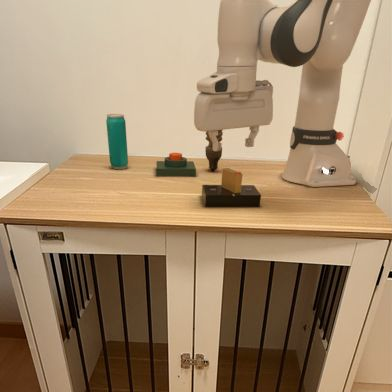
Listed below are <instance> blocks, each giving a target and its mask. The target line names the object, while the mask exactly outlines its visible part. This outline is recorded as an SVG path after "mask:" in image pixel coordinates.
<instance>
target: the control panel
mask: <svg viewBox="0 0 392 392" xmlns="http://www.w3.org/2000/svg"><path fill="white" fill-rule="evenodd" d="M256 187H257V186H255V184H241V193H233V192H231V191H229V190H227V189H225V188H223V187H221V184H202V185H201V198H202V201H203V205H204V207H205V208H261V199H262V194H261V193H260V192H259V190H258V189H257V188H256Z"/></svg>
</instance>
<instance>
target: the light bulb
mask: <svg viewBox="0 0 392 392" xmlns="http://www.w3.org/2000/svg"><path fill="white" fill-rule="evenodd" d="M223 133H224V132H223V130H218V135H217V136H216V138H217V140H218V142H220V143H221V142H222V141H223V135H224V134H223ZM205 135H206V136H205V140H206V141H208V145H206V146H205V151H204V152H205V158H206V159H207V161H208V169H209V170H210V172H215V171H216V170H218V168H219V167H218V166H219V165H218V164H219V161H220V159H221V158H222V156H223V147H222V146H221V151H213V142H212V141H211V139H210V137H209V135H208V131H206V132H205Z"/></svg>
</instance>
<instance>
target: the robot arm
mask: <svg viewBox="0 0 392 392" xmlns="http://www.w3.org/2000/svg"><path fill="white" fill-rule="evenodd" d="M371 2H372V0H294V2H292V3H291V4H289V5H287V6H282V7H281V6H279V5H278V4H277V5H276V4H275V3H273V2H271V1H270V0H220V3H219V9H218V20H217V36H216V37H217V39H216V40H217V41H216V42H217V46H218V57H217V62H216V71H214V72H213V73H212V74H209V75H207V76H205V77H203V78H201V79H199V80H198V81H197V82H196V90H197V92H199V93H198V94H197V95H196V97H195V101H194V111H193V124H194V127H195V129H196V130H197V131H200V132H203V133H204V132H205V133H206V132H207V131H208V135H209V137H210V139H211V141H212V142H213V151H221V147H222V144H223V143H222V142H221V141H220V142H218V140H217V138H216V136H217V135H218V130H222V131H225V130H233V129H243V128H244V129H245V128H248V129H249V131H250V132H249V135H248V136H247V138H245V139H244V141H245V142H244V146H245V147H246V148H254V146H255V139H256V137H257V136H258V133H259V131H260V127H263V126H269V125H270V124H271V123H272V121H273V119H274V118H273V117H274V101H273V100H274V99H273V94H274V86H273V85H272V82H270V81H269V80H268V79H263V80H258V79H257V71H258V70H257V69H258V68H257V67H258V61H260V62H264V63H270V64H276V65H278V64H279V65H284V66H287V67H290V68H291V67H292V68H297V67H298V68H299V67H302V68H301V75H300V84H299V93H298V100H297V107H296V113H295V114H296V115H295V120H294V125H293V126H292V130H291V134H290V139H289V153H288V155H287V156H288V157H287V160H286V163H285V166H284V169H283V172H282V174H281V178H282V179H283V180H285V181H287V182H290V183H295V184H299V185H304V186H307V187H311V188H316V187H317V188H318V187H338V186H354V185H356V183H357V179H356V177H355V176H354V175H352V174H351V169H352V163H351V162H352V161H351V159H350V158H351V156H350V155H347V154H346V153H345V152H344V151H343V150H342V148H341V147H340V146H339V145H338V144H337V141H342V140H343V139H344V138H345V135H344V132H341V131H337V130H335V128H334V125H335V121H336V115H337V110H338V106H339V102H340V91H341V84H342V76H343V75H342V74H343V69H344V64H346V62H347V61H348V60H349V58H350V57H351V55H352V52H353V50H354V47H355V45H356V42H357V39H358V37H359V34H360V33H361V29H362V26H363V24H364V21H365V18H366V15H367V13H368V10H369V7H370V4H371Z"/></svg>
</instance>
